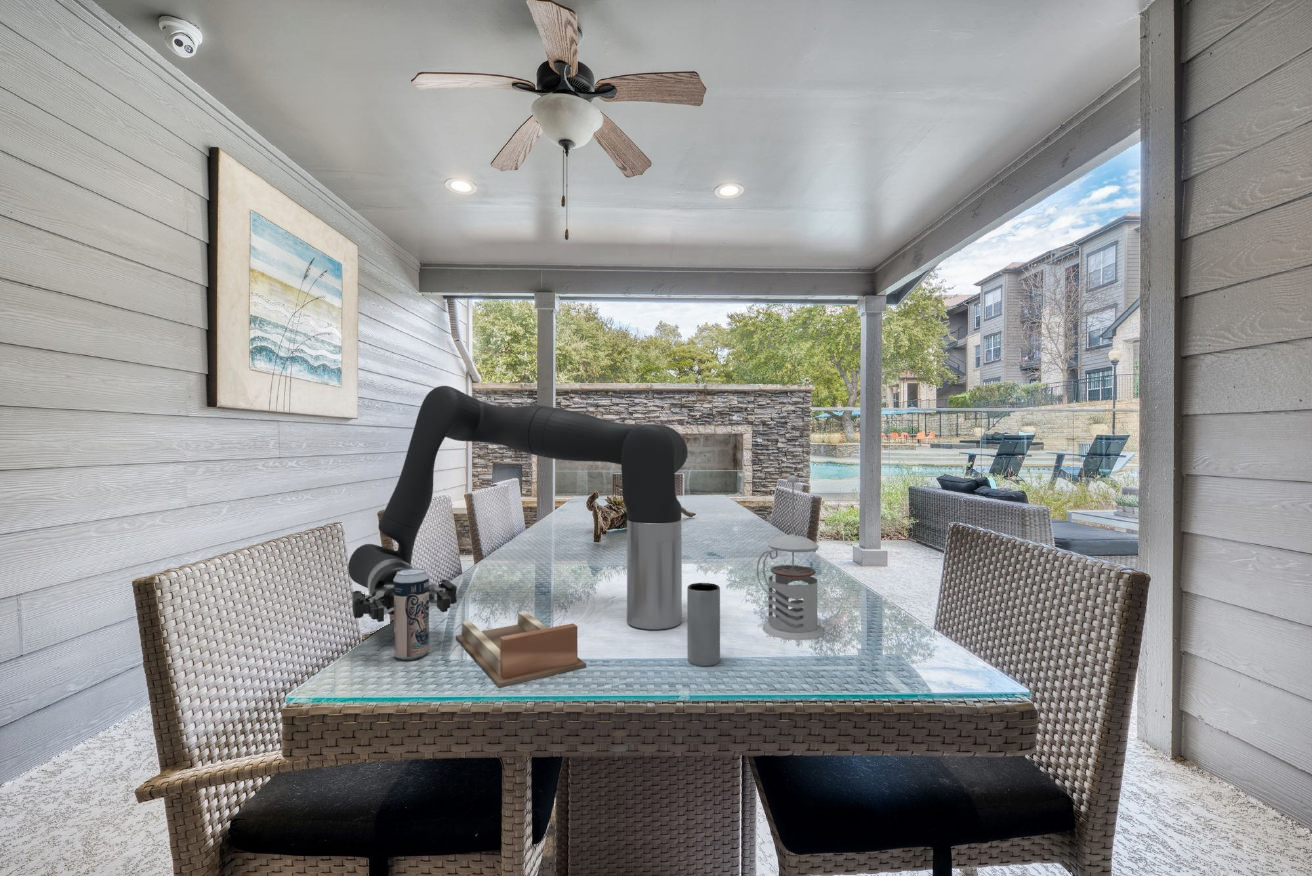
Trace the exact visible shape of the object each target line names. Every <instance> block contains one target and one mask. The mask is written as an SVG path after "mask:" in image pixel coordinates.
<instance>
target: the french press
mask: <svg viewBox="0 0 1312 876" xmlns="http://www.w3.org/2000/svg"><path fill="white" fill-rule="evenodd" d="M786 482H787V483H789V484H792V485H791V487H792V488H791V489H792V496H791V497H792V498H791V499H792V500H791V501H792V504H791V505H792V508H791V509H792V511H791V512H792V515H791V516H792V519H791V521H792V524H791V526H792V533H790V534H786V535H783V536H778V537H775V538H773V539H772V540H770V541H769V542H767V546H768V547H769V548H770V549H772V550H769V549H768V550H766V551H764V552H762V554H760V556H759V558H758V560H757V564H756V576H757V580H758V584H759V586H760V587H761V588H762V590H763V591H764V592H765V593H766V594H767V596H768V621H766V622H765V623H764V624H763V625H762V629H761V630H762V631H763V632H765V633H766V634H768V635H770V636H772V637H775V638H780V639H784V640H793V641H808V640H809V641H810V640H814V639H819V638H821V637H822V636H824V635H825V631H823V630H824V629H823V628H822V627H821V625H819V624H818V579H817V578H816V577H814V575H816V573H817V572H816V570H815V568H812V567H811V566H804V565H798V564H795V563H794V562H795V558H794V556H795V555H794V554H795V553H810V552H816V551H818V549H819V548H820V545H819V544H817V543H816V542H815V541H814V540H811V539H810V538H808V537H805V536H802V535H801V536H800V535H797V534H795V533H794V532H795V529H794V527H795V525H794V524H795V523H794V522H795V520H794V518H795V515H794V514H795V513H794V511H795V509H794V508H795V505H794V503H795V502H794V501H795V498H794V497H795V495H794V494H795V493H794V489H795V484H799V483H800V481H799V477H798V476H796V475H793V474H792V475H789V476H788V477H787V480H786ZM774 551H775V556H774V557H773V555H772V552H774ZM778 551H779V552H789V553H792V554H791V555H792V556H791V557H792V559H791V563H792V564H790V565H788V564H780V565H774V566H772V567H771V568H770V572H771V573H772V574H774V575H775V578H773V575H771V576H768V581H767V578H766V573H765V572H766V571H765V569H766V567H765V566H766V560H767V557H768V556H769V557H770V559H771V560H775V559H776V558H778ZM765 554H766V555H765ZM764 555H765V557H764V560H763V564H762V565H763V567H762V568H763V569H762V573H763V577H764V580H765V583H766V584H765V585H767V587H768V591H767V590H766V589H765V587H764V586H763V585H762V583H761V580H760V575H759V564H760V561H761V559H762V557H763V556H764ZM773 579H775V581H773ZM800 581H801V582H803V583H807V584H790V583H793V582H800ZM774 598H775V600H773V599H774ZM789 599H792V600H791V601H789ZM774 606H775V607H774ZM773 614H775V616H773ZM823 634H824V635H823ZM818 637H819V638H818Z"/></svg>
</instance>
